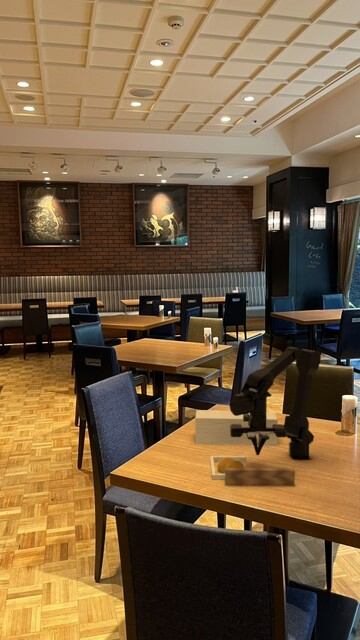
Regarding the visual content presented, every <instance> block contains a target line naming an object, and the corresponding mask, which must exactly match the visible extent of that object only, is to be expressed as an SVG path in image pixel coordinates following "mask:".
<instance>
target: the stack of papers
mask: <svg viewBox="0 0 360 640" xmlns="http://www.w3.org/2000/svg"><path fill="white" fill-rule="evenodd" d="M249 415H250V413H249ZM194 419H195V421H194V422H195V425H194V426H195V428H194V429H195V431H194V432H195V442H194V443H195V444H196V445H229V444H233V446H235V445H237V446H239V445H240V446H254V445H253V443H252V441H251V440H249V439H248V438H247V435H246V433H243V435H242V436H241V437H231V434H230V425H231V424H241V425H242V427H249V426H248V422H243V415H239V416H235V415H233V414H232V412H231V410H219V409H218V410H217V409H216V410H214V409H213V410H210V409H209V410H207V409H206V410H205V409H203V410H202V409H196V412H195V417H194ZM278 423H279V422H278V417H277V415H276V412H275V411H270V410H269V411H267V412H266V428H272V425H273V424H278ZM256 438H257V446H258V439H259V433H256ZM269 438H270V439H269V440H266V442H265V443H264V445H263V446H278V437H277V436H276V435H275V433H269Z"/></svg>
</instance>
